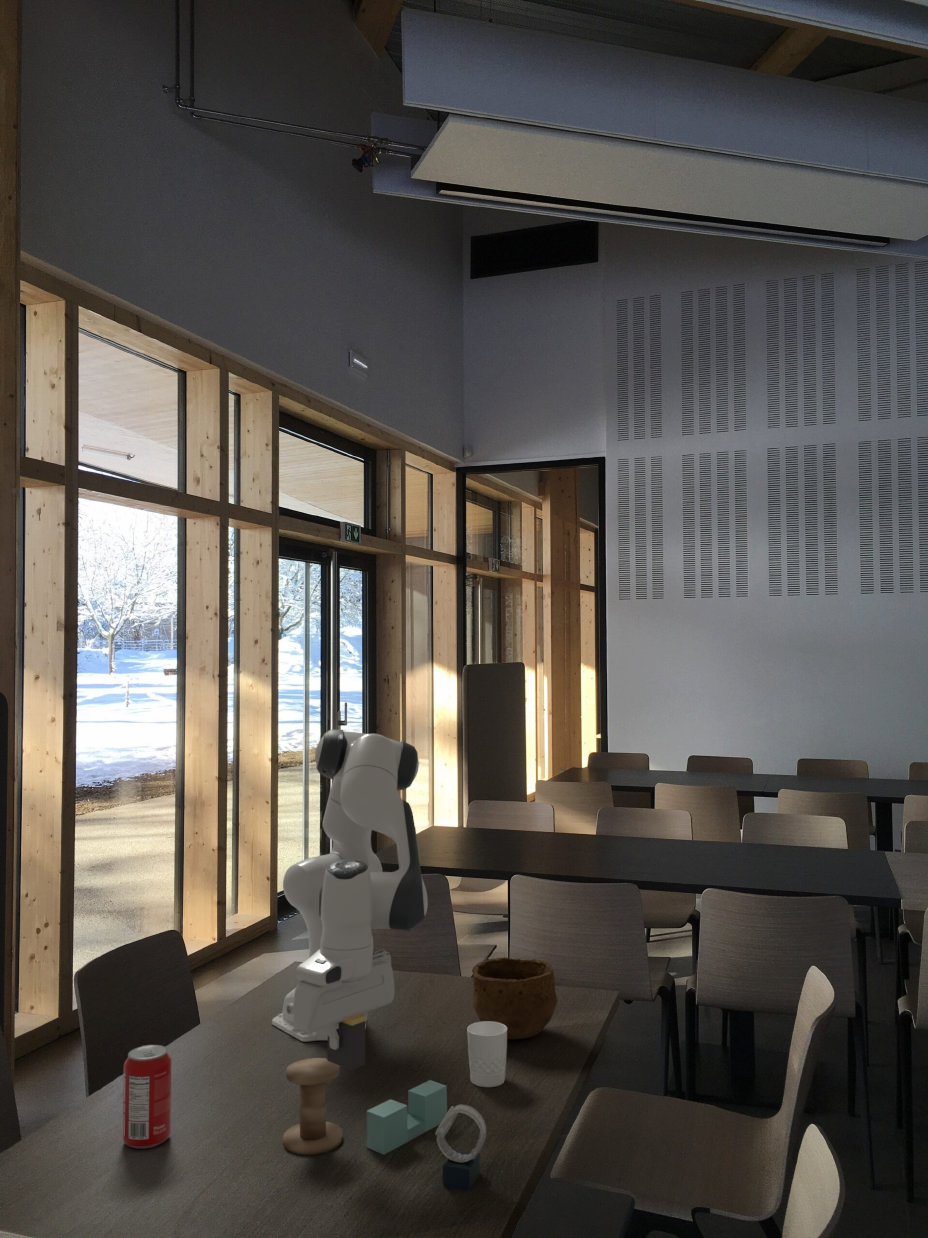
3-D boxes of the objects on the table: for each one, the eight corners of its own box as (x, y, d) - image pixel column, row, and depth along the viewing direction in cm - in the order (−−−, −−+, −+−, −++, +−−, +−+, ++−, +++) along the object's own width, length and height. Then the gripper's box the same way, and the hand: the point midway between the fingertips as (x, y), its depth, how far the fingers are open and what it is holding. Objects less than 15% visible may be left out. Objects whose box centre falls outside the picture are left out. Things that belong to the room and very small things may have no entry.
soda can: (126, 1156, 161) (127, 1064, 162) (119, 1137, 168) (120, 1048, 169) (174, 1146, 164) (175, 1055, 165) (166, 1127, 171) (167, 1040, 172)
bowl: (458, 1028, 218) (457, 961, 219) (532, 1016, 225) (531, 951, 226) (493, 1058, 201) (492, 985, 202) (572, 1044, 208) (571, 973, 209)
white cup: (504, 1090, 185) (503, 1037, 186) (463, 1087, 187) (463, 1034, 187) (510, 1074, 193) (510, 1022, 193) (471, 1071, 194) (471, 1020, 195)
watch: (442, 1167, 156) (442, 1097, 157) (490, 1175, 154) (490, 1103, 155) (430, 1184, 151) (430, 1112, 152) (480, 1192, 149) (479, 1118, 149)
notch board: (366, 1147, 163) (366, 1111, 163) (430, 1114, 175) (429, 1080, 176) (383, 1155, 161) (383, 1117, 161) (446, 1120, 173) (446, 1086, 173)
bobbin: (270, 1142, 165) (271, 1070, 166) (315, 1121, 173) (315, 1052, 174) (310, 1161, 159) (310, 1085, 159) (354, 1138, 166) (354, 1066, 167)
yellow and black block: (327, 1060, 164) (327, 1012, 164) (340, 1055, 166) (340, 1007, 166) (351, 1070, 160) (352, 1021, 160) (364, 1064, 162) (365, 1016, 163)
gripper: (377, 943, 174) (377, 1022, 173) (287, 970, 158) (286, 1057, 158) (403, 950, 170) (402, 1031, 169) (313, 979, 154) (312, 1068, 153)
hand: (346, 1044), depth 163 cm, fingers closed on yellow and black block, 3 cm apart
